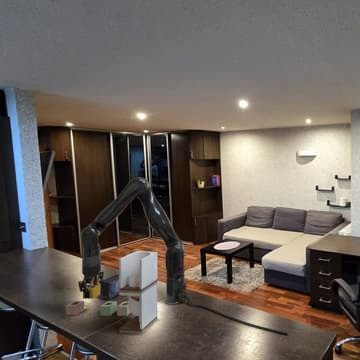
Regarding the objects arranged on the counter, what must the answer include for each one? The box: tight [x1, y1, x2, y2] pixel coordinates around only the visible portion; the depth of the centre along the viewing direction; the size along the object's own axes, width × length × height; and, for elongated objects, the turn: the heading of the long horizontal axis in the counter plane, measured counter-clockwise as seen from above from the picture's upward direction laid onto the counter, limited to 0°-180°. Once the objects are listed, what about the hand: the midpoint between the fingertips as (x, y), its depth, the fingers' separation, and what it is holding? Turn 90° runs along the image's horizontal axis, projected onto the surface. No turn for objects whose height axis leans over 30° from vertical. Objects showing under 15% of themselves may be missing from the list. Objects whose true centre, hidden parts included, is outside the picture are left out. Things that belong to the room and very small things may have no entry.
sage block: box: [99, 300, 118, 317], centre depth 142 cm, size 5×5×5 cm
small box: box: [99, 274, 120, 301], centre depth 160 cm, size 11×6×10 cm, turn 168°
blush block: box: [65, 300, 85, 316], centre depth 141 cm, size 5×5×5 cm
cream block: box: [116, 301, 132, 317], centre depth 142 cm, size 5×5×5 cm
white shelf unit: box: [118, 250, 158, 335], centre depth 131 cm, size 11×11×35 cm
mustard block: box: [82, 284, 100, 300], centre depth 141 cm, size 5×5×5 cm
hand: (91, 295), depth 141 cm, fingers closed on mustard block, 5 cm apart
